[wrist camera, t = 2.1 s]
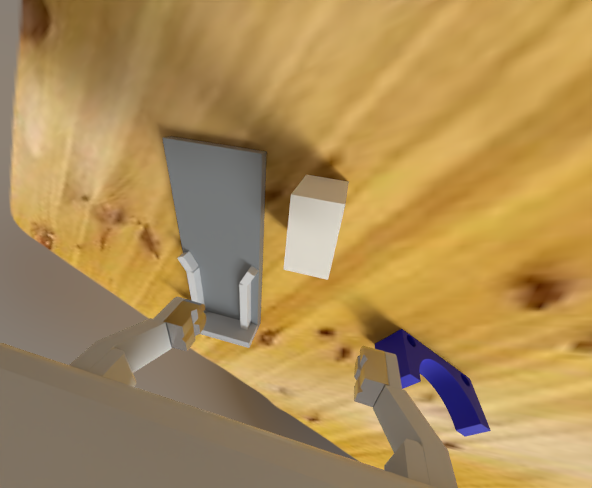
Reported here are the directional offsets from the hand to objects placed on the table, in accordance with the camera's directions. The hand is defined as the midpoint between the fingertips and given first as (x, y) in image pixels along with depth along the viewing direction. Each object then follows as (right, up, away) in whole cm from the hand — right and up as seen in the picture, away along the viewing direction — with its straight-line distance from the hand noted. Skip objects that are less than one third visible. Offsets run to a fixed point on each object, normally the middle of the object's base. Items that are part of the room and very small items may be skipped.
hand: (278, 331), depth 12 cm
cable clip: (+17, -11, +20) cm, 28 cm away
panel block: (+3, +8, +12) cm, 15 cm away
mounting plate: (-8, +4, +17) cm, 19 cm away
